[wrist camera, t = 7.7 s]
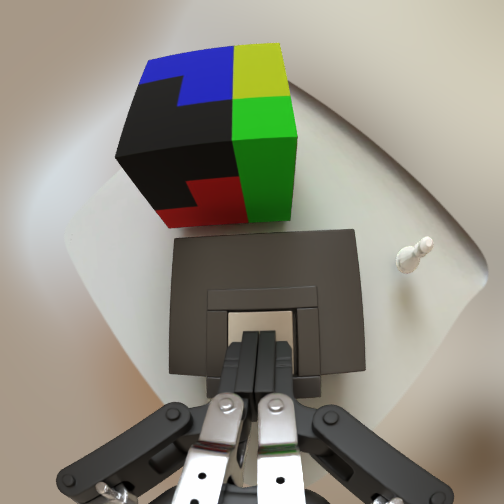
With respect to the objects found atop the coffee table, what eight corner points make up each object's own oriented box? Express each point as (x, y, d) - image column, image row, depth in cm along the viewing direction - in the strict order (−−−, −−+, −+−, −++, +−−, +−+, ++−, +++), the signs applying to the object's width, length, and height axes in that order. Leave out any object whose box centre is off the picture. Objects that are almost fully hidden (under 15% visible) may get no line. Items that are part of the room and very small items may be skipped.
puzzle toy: (179, 137, 27) (148, 60, 18) (280, 128, 27) (279, 42, 17) (168, 228, 24) (114, 157, 15) (290, 220, 23) (297, 136, 14)
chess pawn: (406, 280, 21) (429, 265, 17) (389, 262, 21) (409, 244, 18) (423, 258, 21) (446, 241, 17) (407, 241, 22) (428, 221, 18)
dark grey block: (189, 383, 20) (156, 393, 15) (192, 256, 24) (163, 227, 18) (351, 380, 19) (374, 391, 13) (343, 249, 22) (360, 216, 17)
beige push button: (234, 372, 15) (228, 375, 14) (234, 316, 16) (228, 312, 15) (292, 371, 15) (293, 374, 13) (291, 314, 16) (292, 310, 14)
